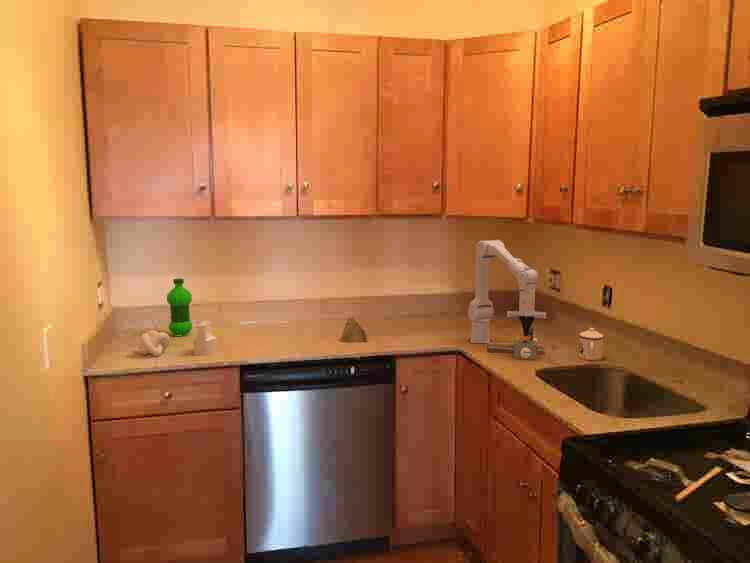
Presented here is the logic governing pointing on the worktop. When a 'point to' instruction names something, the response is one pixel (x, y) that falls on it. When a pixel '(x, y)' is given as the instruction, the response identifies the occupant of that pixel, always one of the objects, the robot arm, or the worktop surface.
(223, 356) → the worktop surface
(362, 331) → the rock
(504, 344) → the guide rail
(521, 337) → the button
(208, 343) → the cylinder with rectangular tab
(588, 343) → the teacup with lid
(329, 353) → the worktop surface
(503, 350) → the board
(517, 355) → the gauge box
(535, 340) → the carriage
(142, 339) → the beige knot
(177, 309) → the plastic bottle
